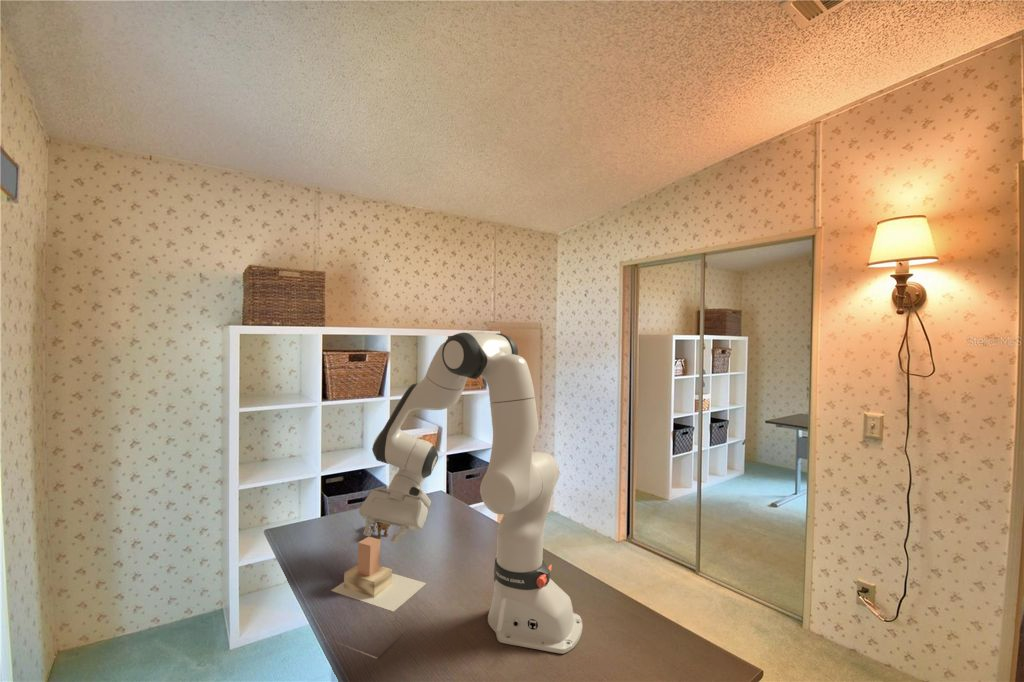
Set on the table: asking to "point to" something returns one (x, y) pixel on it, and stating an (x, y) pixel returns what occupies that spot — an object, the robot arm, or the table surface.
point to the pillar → (369, 556)
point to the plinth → (368, 581)
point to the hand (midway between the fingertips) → (379, 538)
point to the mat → (386, 593)
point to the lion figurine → (381, 528)
